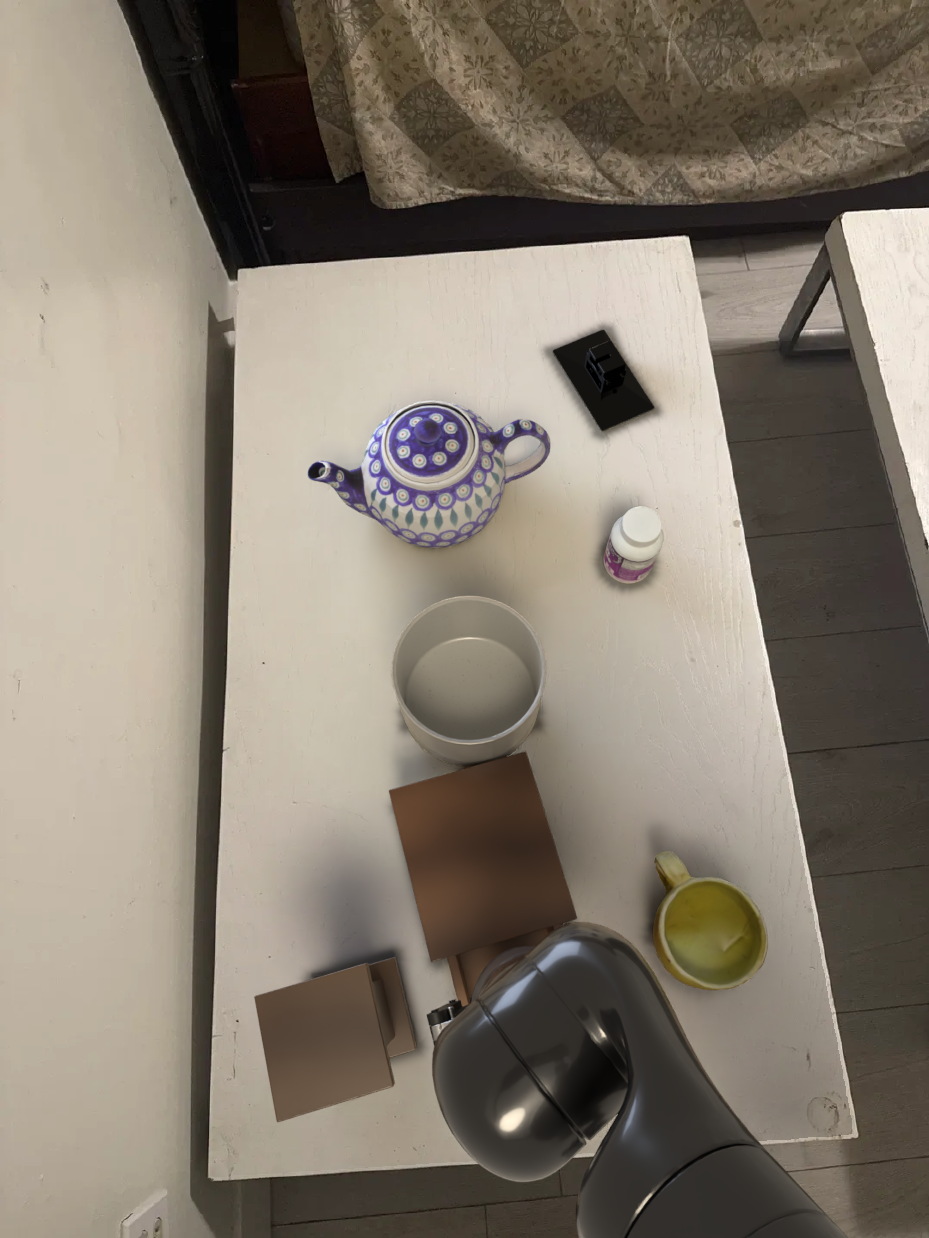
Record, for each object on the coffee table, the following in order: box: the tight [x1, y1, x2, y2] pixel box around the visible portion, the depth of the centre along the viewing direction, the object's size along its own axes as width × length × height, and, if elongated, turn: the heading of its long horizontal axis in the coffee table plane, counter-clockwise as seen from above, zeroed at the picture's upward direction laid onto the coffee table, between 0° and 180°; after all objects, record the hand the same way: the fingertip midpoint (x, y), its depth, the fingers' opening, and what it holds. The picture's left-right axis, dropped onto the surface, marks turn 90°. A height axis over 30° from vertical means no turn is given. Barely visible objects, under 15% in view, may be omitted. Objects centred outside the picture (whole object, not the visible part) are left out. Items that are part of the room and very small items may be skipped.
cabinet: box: [388, 751, 578, 963], centre depth 79 cm, size 15×13×11 cm
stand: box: [254, 956, 418, 1123], centre depth 70 cm, size 8×8×22 cm
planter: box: [390, 595, 548, 769], centre depth 81 cm, size 13×13×18 cm
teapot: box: [307, 399, 551, 549], centre depth 91 cm, size 25×15×15 cm, turn 99°
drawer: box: [446, 923, 563, 1006], centre depth 75 cm, size 18×11×9 cm, turn 16°
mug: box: [652, 850, 769, 991], centre depth 78 cm, size 12×10×10 cm
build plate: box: [552, 329, 655, 433], centre depth 101 cm, size 12×7×5 cm, turn 25°
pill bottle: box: [603, 505, 665, 584], centre depth 90 cm, size 5×5×10 cm
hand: (520, 994), depth 68 cm, fingers closed on block, 5 cm apart
